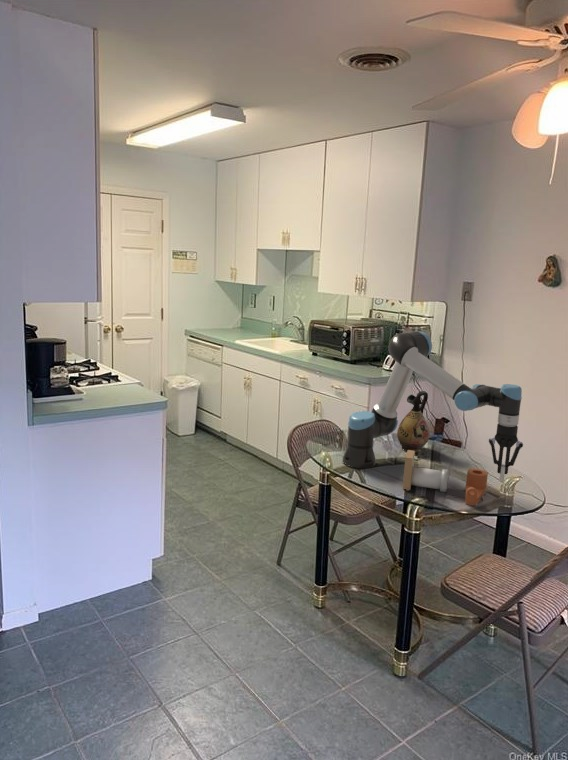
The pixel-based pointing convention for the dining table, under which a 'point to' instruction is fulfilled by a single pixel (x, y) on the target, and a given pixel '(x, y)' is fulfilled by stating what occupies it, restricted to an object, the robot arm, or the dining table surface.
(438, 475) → the pipe stub
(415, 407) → the ceramic jug
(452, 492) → the gasket mat
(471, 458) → the dining table surface
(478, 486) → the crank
